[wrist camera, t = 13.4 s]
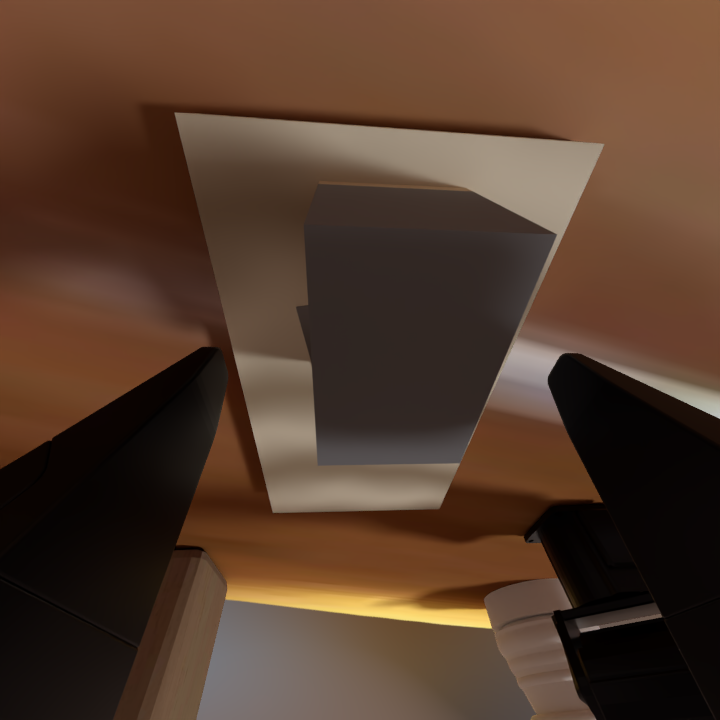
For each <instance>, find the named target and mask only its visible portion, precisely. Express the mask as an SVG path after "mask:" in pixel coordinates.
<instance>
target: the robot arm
mask: <svg viewBox="0 0 720 720" xmlns="http://www.w3.org/2000/svg"><path fill="white" fill-rule="evenodd" d="M227 382H228V371H227V368H226V364H225V360H224V357H223V353H222V351H221V349H220V348H218V347H201V348H199V349H198V350H196V351H194V352H193V353H191V354H190V355H188V356H186V357H185V358H183V359H181V360H180V361H178V362H176V363H175V364H173V365H171V366H170V367H168V368H167V369H165V370H163V371H162V372H160V373H158V374H157V375H155V376H153V377H152V378H150V379H148V380H147V381H145V382H144V383H142V384H140V385H139V386H137V387H135V388H134V389H132V390H130V391H129V392H127V393H125V394H124V395H122V396H121V397H119V398H117V399H116V400H114V401H112V402H111V403H109V404H107V405H106V406H104V407H102V408H101V409H99V410H98V411H96V412H94V413H93V414H91V415H89V416H88V417H86V418H84V419H83V420H81V421H79V422H78V423H76V424H75V425H73V426H71V427H70V428H68V429H66V430H65V431H63V432H61V433H60V434H58V435H56V436H55V437H53V438H52V441H46V442H45V443H43V444H42V445H40V446H38V447H37V448H35V449H33V450H32V451H30V452H28V453H27V454H25V455H24V456H22V457H20V458H18V459H17V460H15V461H13V462H12V463H10V464H8V465H7V466H5V467H3V468H2V469H0V720H113V719H114V716H115V713H116V710H117V708H118V705H119V702H120V699H121V696H122V694H123V691H124V688H125V685H126V683H127V680H128V677H129V674H130V671H131V669H132V666H133V663H134V660H135V658H136V655H137V652H138V648H137V647H139V645H140V643H141V640H142V637H143V635H144V632H145V629H146V626H147V624H148V621H149V618H150V615H151V612H152V610H153V607H154V604H155V601H156V599H157V596H158V593H159V590H160V587H161V585H162V582H163V579H164V576H165V574H166V571H167V568H168V565H169V562H170V560H171V557H172V554H173V551H174V549H175V546H176V543H177V540H178V538H179V535H180V532H181V529H182V526H183V524H184V521H185V518H186V515H187V513H188V510H189V507H190V504H191V501H192V499H193V496H194V493H195V490H196V488H197V485H198V482H199V479H200V476H201V474H202V471H203V468H204V465H205V463H206V460H207V457H208V454H209V451H210V449H211V446H212V443H213V440H214V437H215V434H216V430H217V427H218V422H219V418H220V413H221V409H222V405H223V400H224V396H225V391H226V387H227ZM548 385H549V388H550V390H551V393H552V396H553V398H554V401H555V403H556V406H557V408H558V411H559V413H560V416H561V418H562V421H563V424H564V426H565V428H566V431H567V433H568V435H569V437H570V439H571V441H572V443H573V445H574V447H575V449H576V451H577V453H578V455H579V457H580V458H581V460H582V462H583V464H584V466H585V468H586V470H587V472H588V474H589V476H590V478H591V480H592V482H593V484H594V485H595V487H596V489H597V491H598V493H599V495H600V497H601V499H602V501H603V503H604V505H594V506H556V507H552V508H550V509H549V510H548V511H547V512H546V513H545V514H544V515H543V517H542V518H541V519H540V520H539V521H538V522H537V523H536V524H535V525H534V526H533V527H532V529H531V530H530V531H529V532H528V533H527V534H526V535H525V536H524V539H525V542H526V543H542V545H543V547H544V549H545V551H546V554H547V556H548V558H549V560H550V562H551V564H552V566H553V568H554V570H555V573H556V575H557V577H558V579H559V581H560V583H561V585H562V587H563V589H564V592H565V594H566V596H567V598H568V600H569V602H570V604H571V606H572V609H567V610H562V611H561V610H555V611H553V613H554V615H553V616H551V618H552V620H553V623H554V625H555V628H556V630H557V632H558V635H559V637H560V640H561V643H562V645H563V648H564V652H565V655H566V659H567V662H568V665H569V669H570V672H571V676H572V679H573V683H574V686H575V689H576V692H577V695H578V697H579V699H580V700H581V701H582V702H584V703H585V704H586V705H587V706H588V707H589V708H590V710H591V712H592V713H593V715H594V716H595V718H596V720H720V419H719V418H717V417H715V416H712V415H710V414H708V413H706V412H704V411H702V410H700V409H697V408H695V407H693V406H691V405H689V404H687V403H685V402H683V401H680V400H678V399H676V398H674V397H672V396H670V395H668V394H665V393H663V392H661V391H659V390H657V389H655V388H653V387H650V386H648V385H646V384H644V383H642V382H640V381H638V380H635V379H633V378H631V377H629V376H627V375H625V374H623V373H621V372H618V371H616V370H614V369H612V368H610V367H608V366H606V365H603V364H601V363H599V362H597V361H595V360H593V359H591V358H588V357H586V356H584V355H582V354H578V353H565V354H562V355H561V356H560V357H559V359H558V360H557V362H556V364H555V365H554V367H553V369H552V371H551V372H550V374H549V376H548ZM656 614H661V615H662V618H656V619H651V620H646V621H641V622H635V623H629V624H624V625H619V626H614V627H608V628H603V629H597V630H592V631H586V632H580V630H579V629H582V628H588V627H593V626H598V625H603V624H609V623H613V622H619V621H624V620H629V619H635V618H640V617H645V616H651V615H656Z"/></svg>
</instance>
